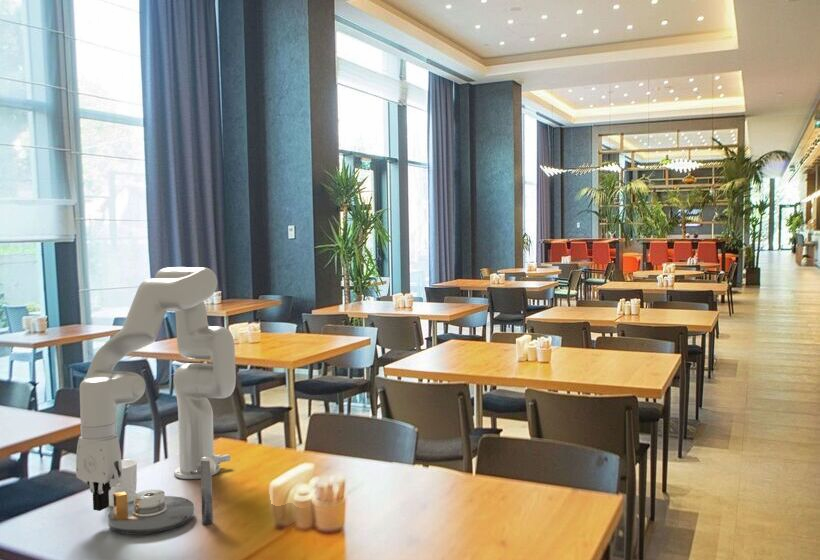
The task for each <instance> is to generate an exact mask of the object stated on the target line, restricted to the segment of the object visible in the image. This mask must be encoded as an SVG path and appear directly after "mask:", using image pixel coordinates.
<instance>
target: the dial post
mask: <svg viewBox="0 0 820 560" xmlns="http://www.w3.org/2000/svg"><path fill="white" fill-rule="evenodd" d="M196 469H197V471H191V472H190V474H200V475H201V478H200V484H201V485H200V486H201V489H200V491H201V494H200V495H201V524H202V525H204V526H210V525H212V524H213V523H214V522H213V520H214V519H213V517H214V515H213V514H214V513H213V510H214V509H213V483H212V482H213V481H212V480H213V475H212V473H213V472H214V471H215V469H216V463H215V461H214V460H213V459H212V458H210V457H203V458H201V459H200V460H199V461H198V462H197V464H196Z"/></svg>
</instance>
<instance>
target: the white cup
mask: <svg viewBox="0 0 820 560" xmlns="http://www.w3.org/2000/svg"><path fill="white" fill-rule="evenodd" d="M121 461H122V474H121V477H119V481H120V484H119V485H117V486H115V487H111V490H110V491H109V507H111V508H114V497H113V494H114V493H118V492H123V491H124V492H125V493H126V494H127V503H128V502H131V501H134V495H135V494H137V493H136V492H137V482H138V481H137V480H138V479H137V478H138V476H137V475H138V473H137V472H138V470H137V469H138V461H136V460H134V459H121Z"/></svg>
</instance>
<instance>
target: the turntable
mask: <svg viewBox="0 0 820 560" xmlns="http://www.w3.org/2000/svg"><path fill="white" fill-rule="evenodd" d="M113 497H114V507H113V509H112V510H111V511H109V513H108V519H107V521H108V527H109V529H111V530H112V531H114V532H117V533H121V534H128V535H144V534H154V533H159V532H163V531H168V530H172V529H174V528H176V527H179V526H181V525H184V524H186V523H188V522H189V521H190V520H191V519H193V517H194V514H195V509H194V508H195V506H194V503H193V501H192V500H190V499H188V498H184V497H182V496H175V495H173V496H171V495H165V505H166V506H167V510H166V512H164V513H162V514H160V515H157V516H153V517H136V516H134V515H133V514H132V511H133V509H134V501H131V502H128V503H127V494H126V493H125V492H124V491H123V492H118V493H114V494H113Z"/></svg>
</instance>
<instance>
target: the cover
mask: <svg viewBox="0 0 820 560" xmlns="http://www.w3.org/2000/svg"><path fill="white" fill-rule="evenodd" d="M165 496H166V495H165V491H164V490H160V489H148V490H143V491H139V492H137V493H136V494H135V495H134V509H133V511H132V514H133V515H134V516H136V517H153V516H157V515H160V514H162V513H164V512H166V510H167V506H166V505H165Z"/></svg>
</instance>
